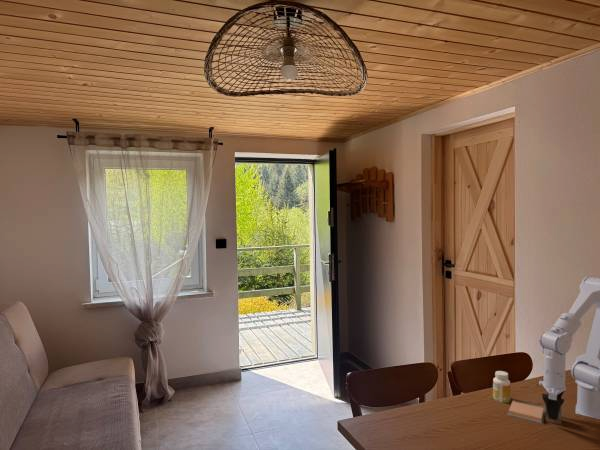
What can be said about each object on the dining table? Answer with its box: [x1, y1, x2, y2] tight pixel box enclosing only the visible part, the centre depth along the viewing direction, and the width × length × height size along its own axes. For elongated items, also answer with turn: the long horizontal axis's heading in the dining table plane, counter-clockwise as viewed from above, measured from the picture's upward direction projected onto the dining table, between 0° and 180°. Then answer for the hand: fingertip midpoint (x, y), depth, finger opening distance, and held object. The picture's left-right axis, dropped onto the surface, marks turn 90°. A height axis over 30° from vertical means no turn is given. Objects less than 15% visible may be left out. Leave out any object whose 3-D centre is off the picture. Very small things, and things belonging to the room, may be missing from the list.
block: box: [545, 404, 563, 426], centre depth 127 cm, size 4×4×6 cm
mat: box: [506, 399, 546, 425], centre depth 133 cm, size 10×13×1 cm
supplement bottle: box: [492, 370, 511, 403], centre depth 141 cm, size 5×5×10 cm
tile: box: [508, 400, 544, 424], centre depth 131 cm, size 9×1×8 cm
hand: (553, 413), depth 127 cm, fingers open, 7 cm apart
